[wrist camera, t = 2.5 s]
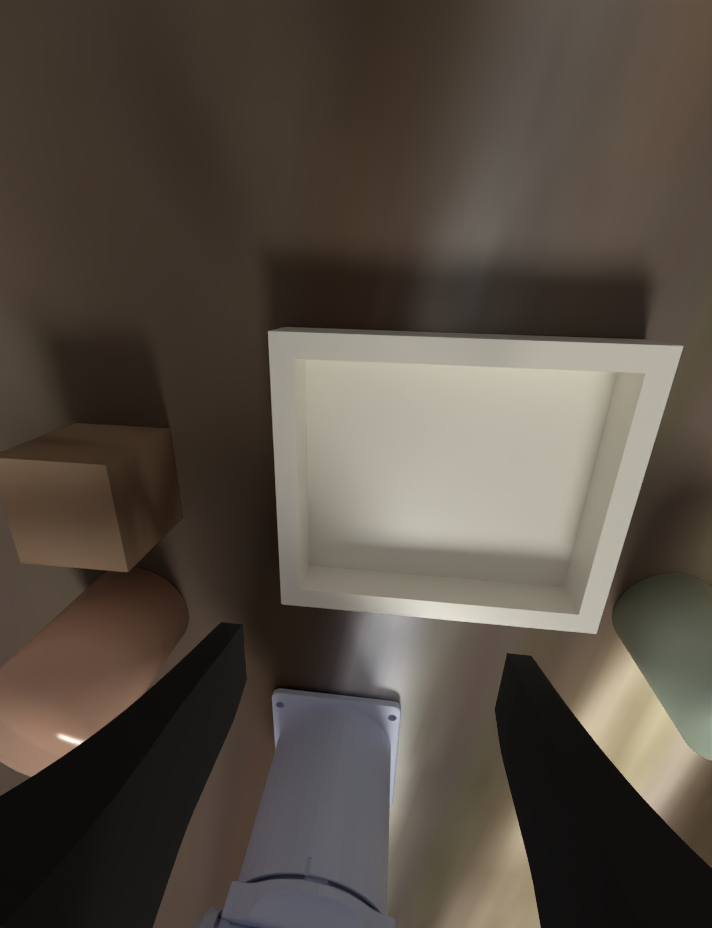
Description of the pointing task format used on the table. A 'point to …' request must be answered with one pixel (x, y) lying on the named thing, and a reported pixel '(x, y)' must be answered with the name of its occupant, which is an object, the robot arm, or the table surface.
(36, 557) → the walnut cube
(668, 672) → the sage rounded cylinder
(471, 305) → the table surface
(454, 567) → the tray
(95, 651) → the peach rounded cylinder
